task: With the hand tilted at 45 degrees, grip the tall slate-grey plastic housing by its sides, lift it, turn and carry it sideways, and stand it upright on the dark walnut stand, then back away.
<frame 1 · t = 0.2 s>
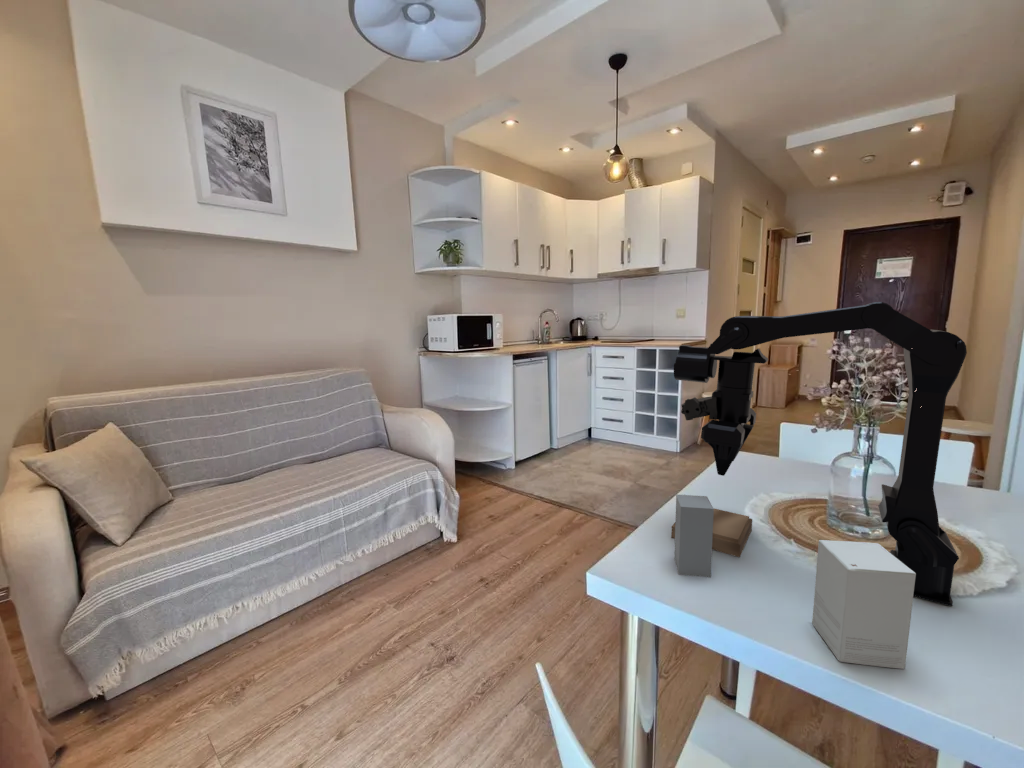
hand: (726, 467, 81), 14 cm above the table, tool pointing down, fingers open, 9 cm apart
supplement box: (854, 646, 56), on the table
walnut stand: (712, 534, 85), on the table
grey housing: (691, 567, 74), on the table
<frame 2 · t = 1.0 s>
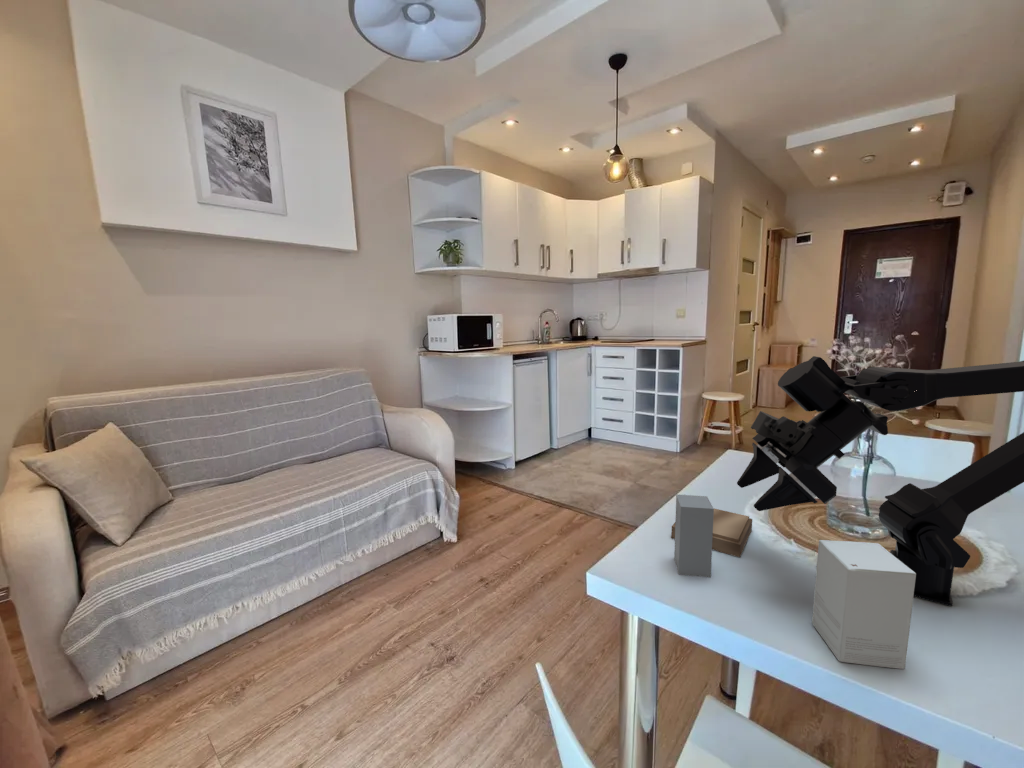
hand: (746, 496, 71), 13 cm above the table, tool tilted 45°, fingers open, 9 cm apart
nothing on the table moved.
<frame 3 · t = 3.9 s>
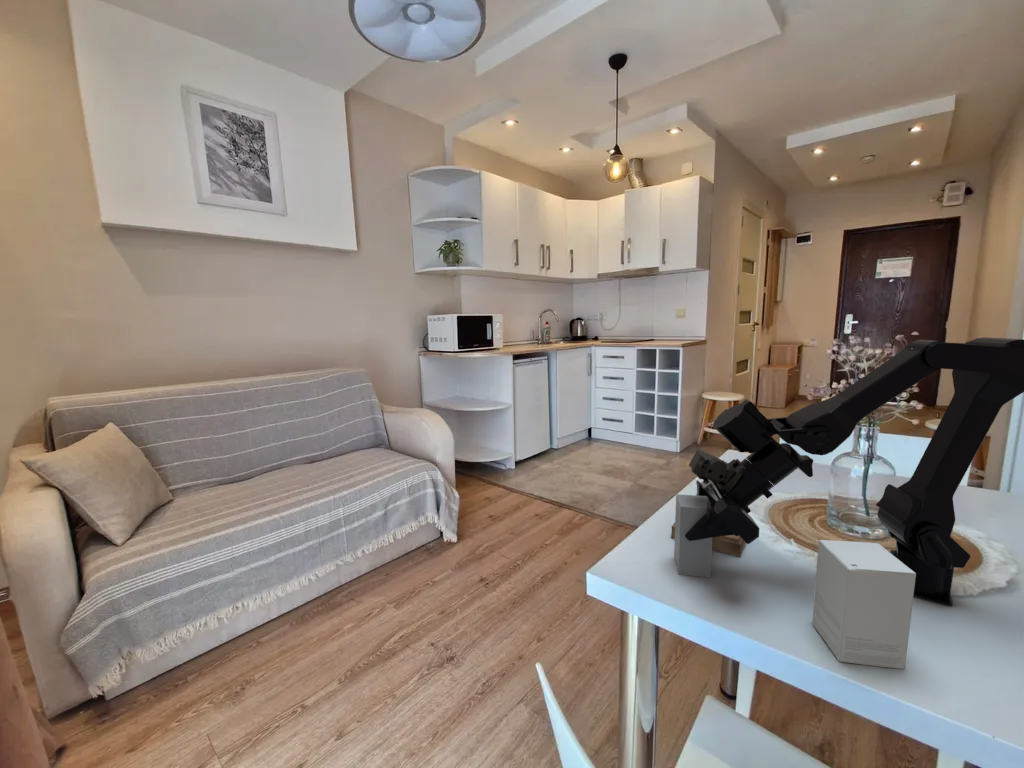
hand: (684, 530, 74), 7 cm above the table, tool tilted 45°, fingers closed on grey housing, 5 cm apart
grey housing: (691, 567, 74), on the table, touching gripper
everything else where it was.
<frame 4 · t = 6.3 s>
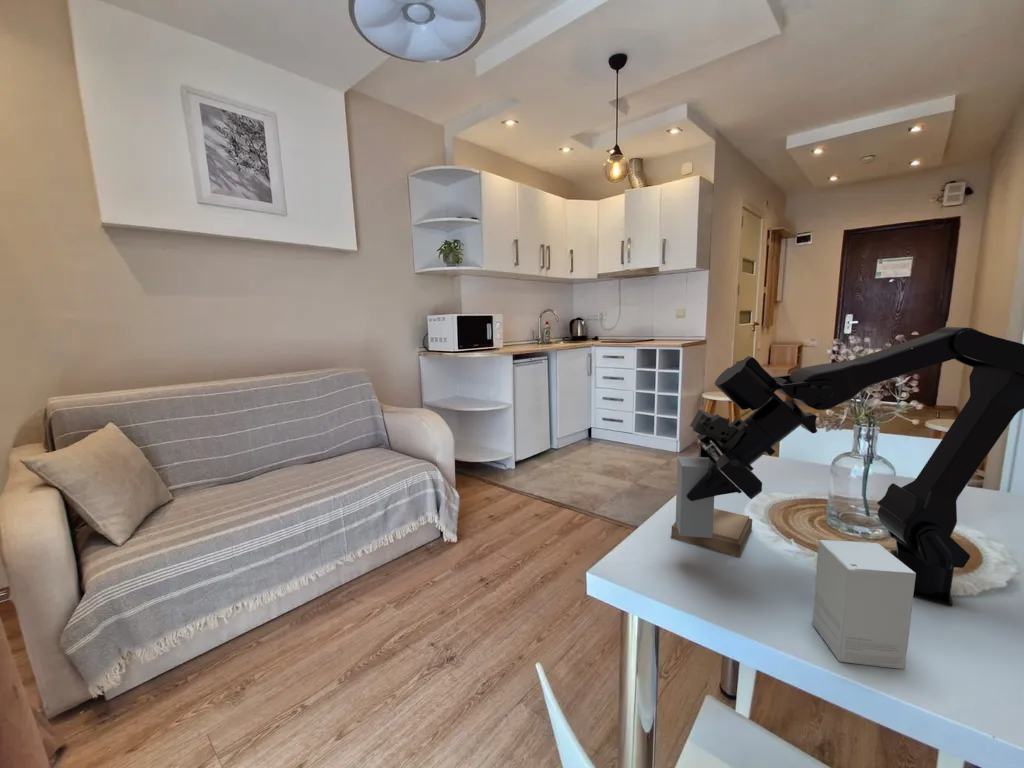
hand: (685, 492, 73), 13 cm above the table, tool tilted 45°, fingers closed on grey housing, 5 cm apart
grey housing: (693, 529, 73), point 7 cm above the table, touching gripper
everything else where it was.
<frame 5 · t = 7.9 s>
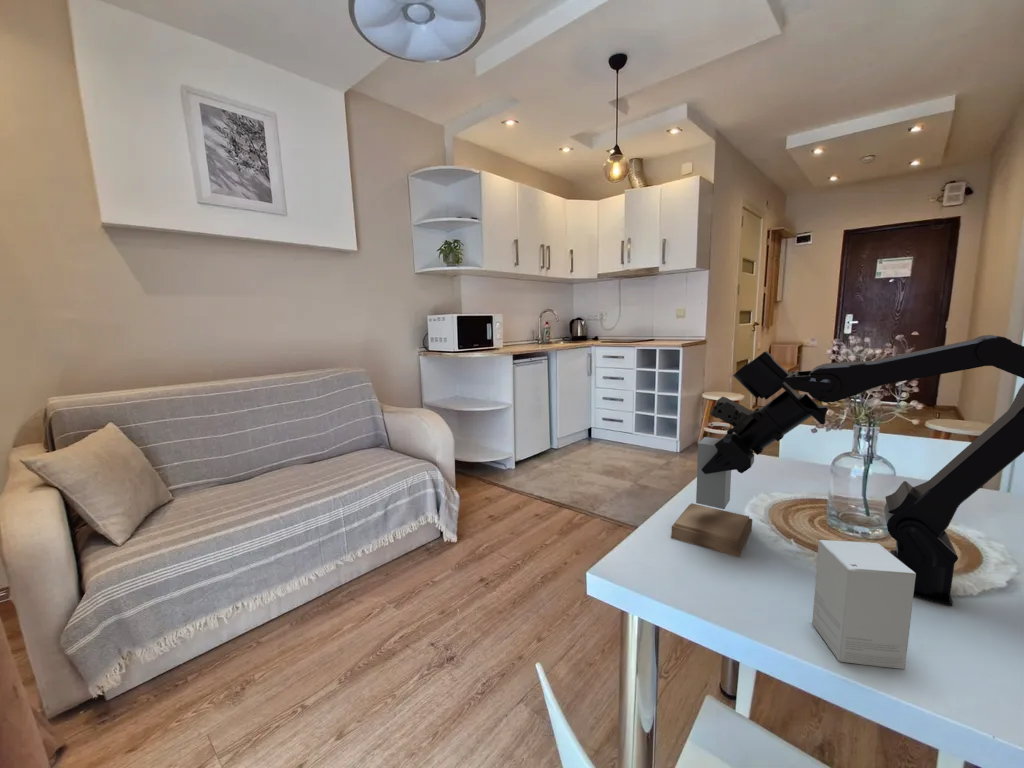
hand: (706, 467, 84), 13 cm above the table, tool tilted 45°, fingers closed on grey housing, 5 cm apart
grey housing: (713, 501, 84), point 7 cm above the table, touching gripper
everything else where it was.
when the fingers open (11 cm above the table, at t = 8.9 s): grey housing drops 1 cm, resting on walnut stand.
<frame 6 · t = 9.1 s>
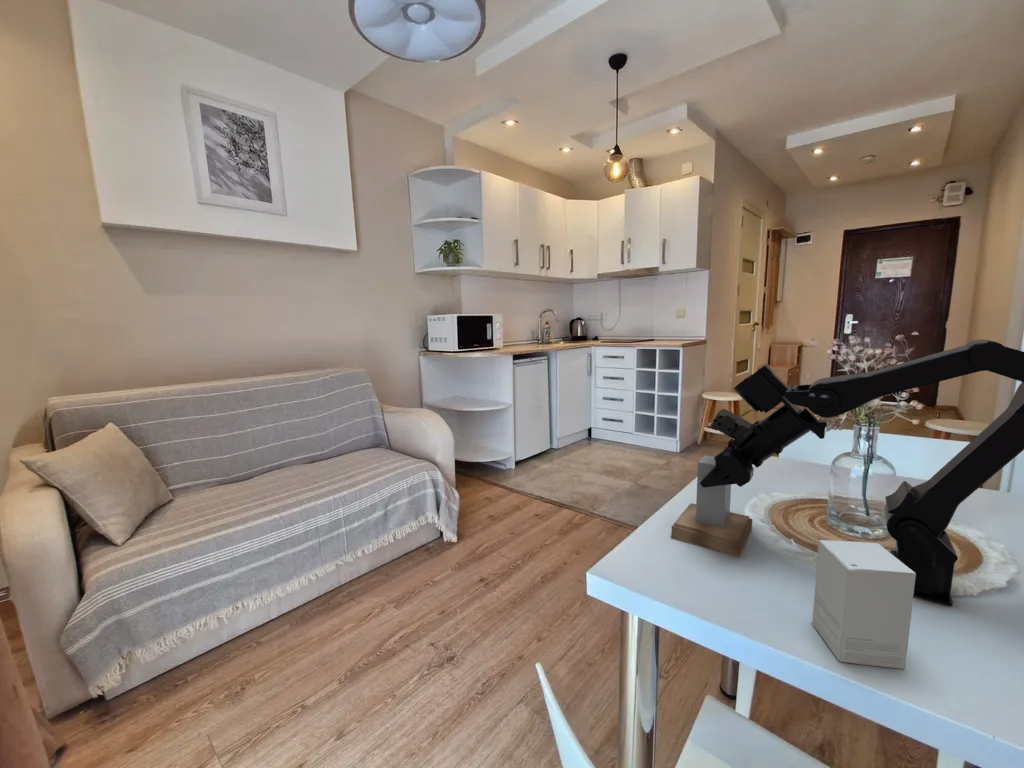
hand: (706, 479, 84), 11 cm above the table, tool tilted 45°, fingers open, 7 cm apart
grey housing: (712, 519, 85), point 3 cm above the table, touching walnut stand
everything else where it was.
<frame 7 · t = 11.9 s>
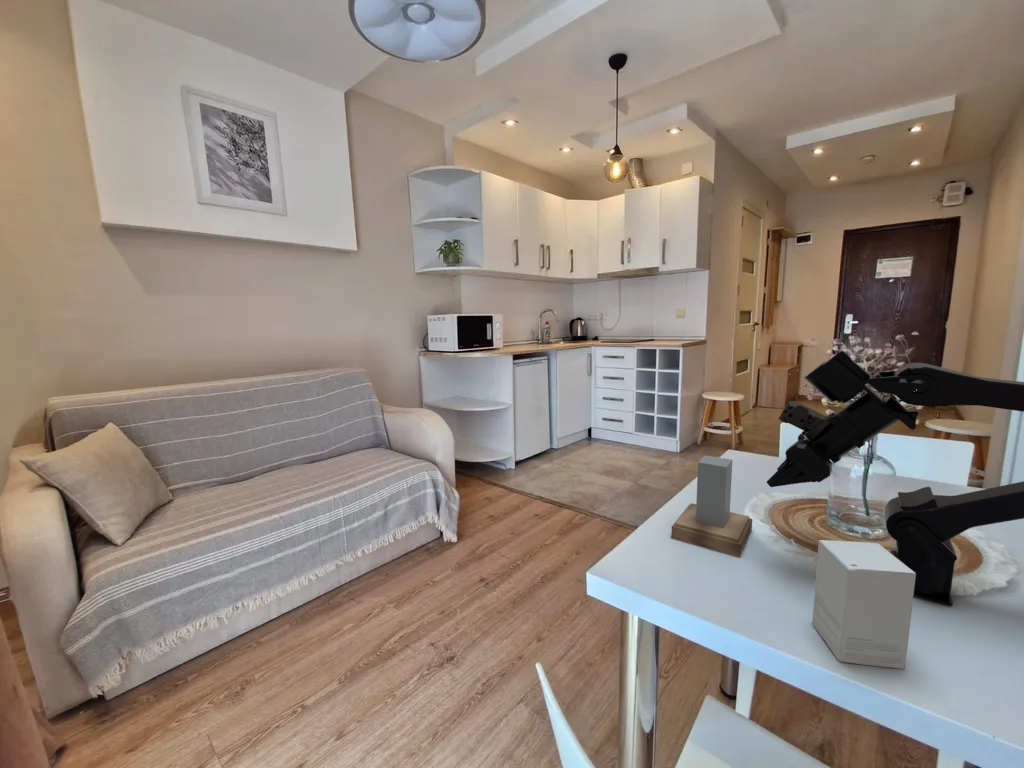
hand: (774, 477, 78), 14 cm above the table, tool tilted 45°, fingers open, 9 cm apart
nothing on the table moved.
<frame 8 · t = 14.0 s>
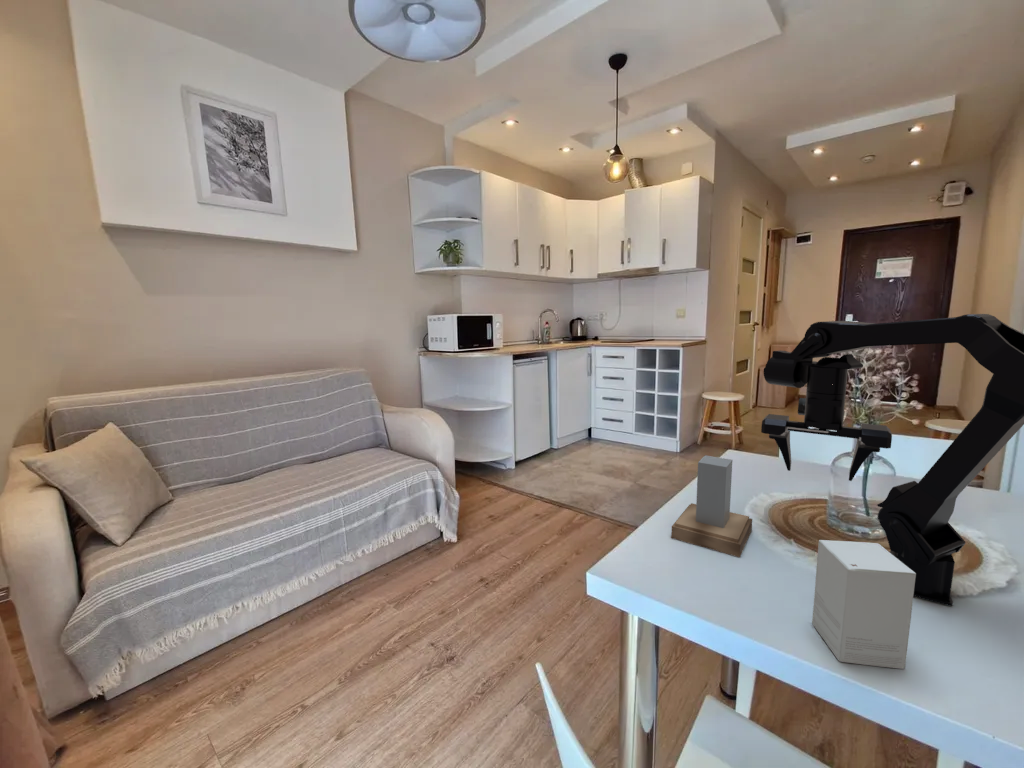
hand: (818, 474, 80), 13 cm above the table, tool pointing down, fingers open, 9 cm apart
nothing on the table moved.
at the end: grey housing inside the target area on the walnut stand (0.0 cm from its centre), point 3.0 cm above the walnut stand's base; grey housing tilted 0°; the gripper is holding nothing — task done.
